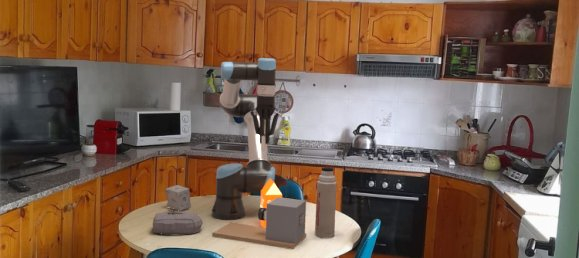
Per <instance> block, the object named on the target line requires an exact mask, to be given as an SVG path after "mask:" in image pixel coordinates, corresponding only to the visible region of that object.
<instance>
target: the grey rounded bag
mask: <svg viewBox="0 0 579 258" xmlns="http://www.w3.org/2000/svg"><path fill="white" fill-rule="evenodd" d="M203 224H204V222H203V219H202V217H201V216H200V215H198V214H197V213H195V212H193V211H192V212H191V211H189V210H182V211H177V210H174V209H172V210H167V211H164V212H163V211H161V212H158V213H156V214H155V215H154V217H153V221H152V230H153V232H154V234H156V233H162V234H161V235H163V234H185V235H191V234H195V233H199V232H200V231H201V229H202V226H203Z"/></svg>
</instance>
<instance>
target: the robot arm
mask: <svg viewBox="0 0 579 258" xmlns="http://www.w3.org/2000/svg"><path fill="white" fill-rule="evenodd" d="M276 64H277V61H276V59H275V58H268V57H265V58H264V57H260V58H258V60H257V62H244V61H243V62H239V61H238V62H237V61H223V62H221V64H220V67H221V68H220V78H221V79H222V80H224V81H223V87H222V88H223V89H222V92H221V94H220V95H219V105H220V107H221V109H222V110H223V111H224V112H225V113H226V114H227V115H229V116H231V117H235V118H243V120H244V122H245V123H246V125H247V127H246V128H247V144H248V162H247V163H246V165H245V166H244V165H243V164H242V163H237V162H235V163H228V164H223V165H219V166H218V167H217V169H216V176H215V179H216V182H215V183H216V185H215V187H216V188H215V189H216V190H215V201H214V203H213V205H212V209H211V217H213V218H214V219H219V220H227V221H228V220H239V219H242V218H244V217H245V216H246V209H245V205H244V202H243V198H242V196H243V194H248V193H249V194H256V193H257V194H258V193H259V194H261V190H262V189H263V187H264V186H265V185H266V183H267V182H268V180H269V179H271V180H272V181H273V182H274V179H275V175H276V168H275V167H273V166H272V163H271V162H270V160H268V144H269V143H270V137H271V136H272V135H274V134H275V130H276V127H277V123H278V120H279V118H280V116H281V113H280V112H278V111H277V110H276V108H275V105H276V104H275V103H276V101H275V100H276V99H275V95H276V72H277V71H276V69H277V65H276ZM242 81H257V83H256V94H255V93H254V94H253V93H240V89H241V84H242ZM272 116H273V118H272ZM271 120H272V122H271Z"/></svg>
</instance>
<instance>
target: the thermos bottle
mask: <svg viewBox="0 0 579 258" xmlns="http://www.w3.org/2000/svg"><path fill="white" fill-rule="evenodd" d="M316 183H317V184H316V197H315V198H316V203H315V205H316V206H315V224H314V228H315V229H314V235H315V236H316V237H318V238H322V239H330V238H333V237H335V229H336V227H335V225H336V209H337V208H336V206H337V186H338V185H337V183H338V182H337V181H336V176H335V175H334V168H333V167H328V166H327V167H326V166H325V167H324V166H323V167H322V168H321V173H320V174H319V176H318V180H317V181H316Z"/></svg>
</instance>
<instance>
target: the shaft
mask: <svg viewBox="0 0 579 258" xmlns="http://www.w3.org/2000/svg"><path fill="white" fill-rule="evenodd" d="M266 210H267V208H262V207H261V208H260V207H259V210H258V213H257V218H258V220H259V221H260V220H263V221H265V220H266ZM304 216H305V215H302V214H301V215H299V224H303V223H304ZM305 217H306V216H305Z"/></svg>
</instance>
